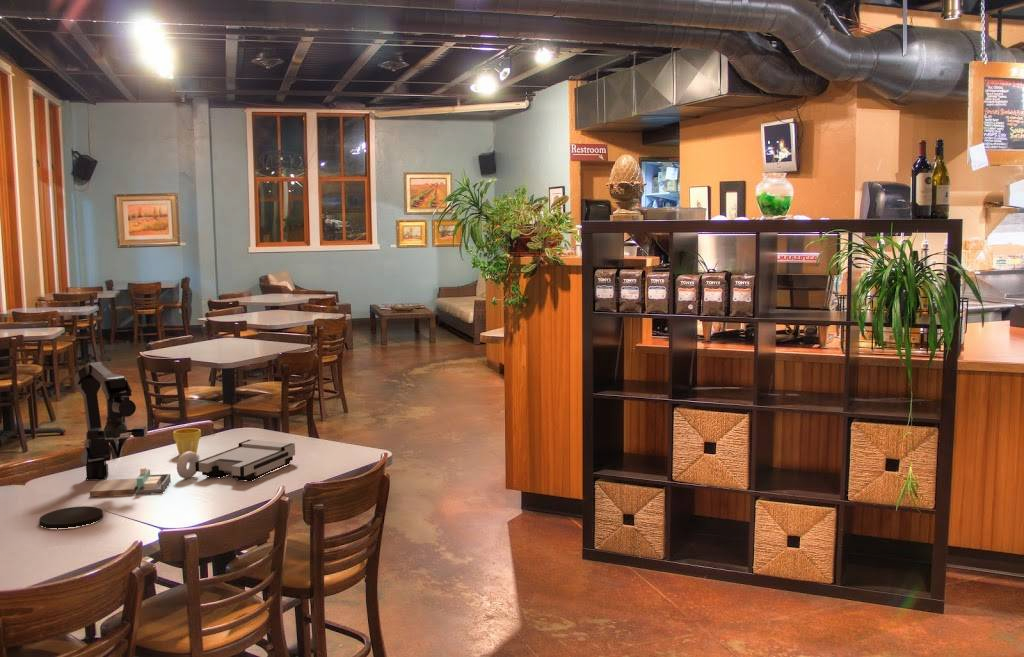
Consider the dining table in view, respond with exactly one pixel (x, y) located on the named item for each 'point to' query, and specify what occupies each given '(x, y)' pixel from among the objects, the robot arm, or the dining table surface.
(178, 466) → the donut
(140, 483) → the long mint beam
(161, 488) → the box
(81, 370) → the robot arm
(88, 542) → the dining table surface
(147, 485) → the tile
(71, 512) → the wireless charger
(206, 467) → the game console
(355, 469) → the dining table surface
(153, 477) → the tile
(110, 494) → the walnut board
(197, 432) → the plant pot
